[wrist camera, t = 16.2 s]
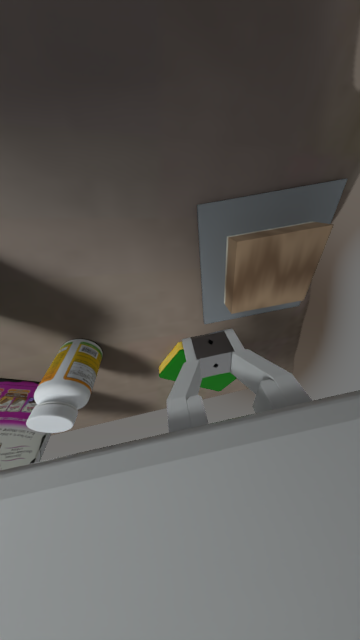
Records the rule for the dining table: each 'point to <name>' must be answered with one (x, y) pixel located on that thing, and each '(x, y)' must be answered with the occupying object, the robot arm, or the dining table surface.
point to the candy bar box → (19, 425)
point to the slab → (272, 265)
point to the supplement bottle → (65, 387)
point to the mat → (252, 217)
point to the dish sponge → (175, 362)
